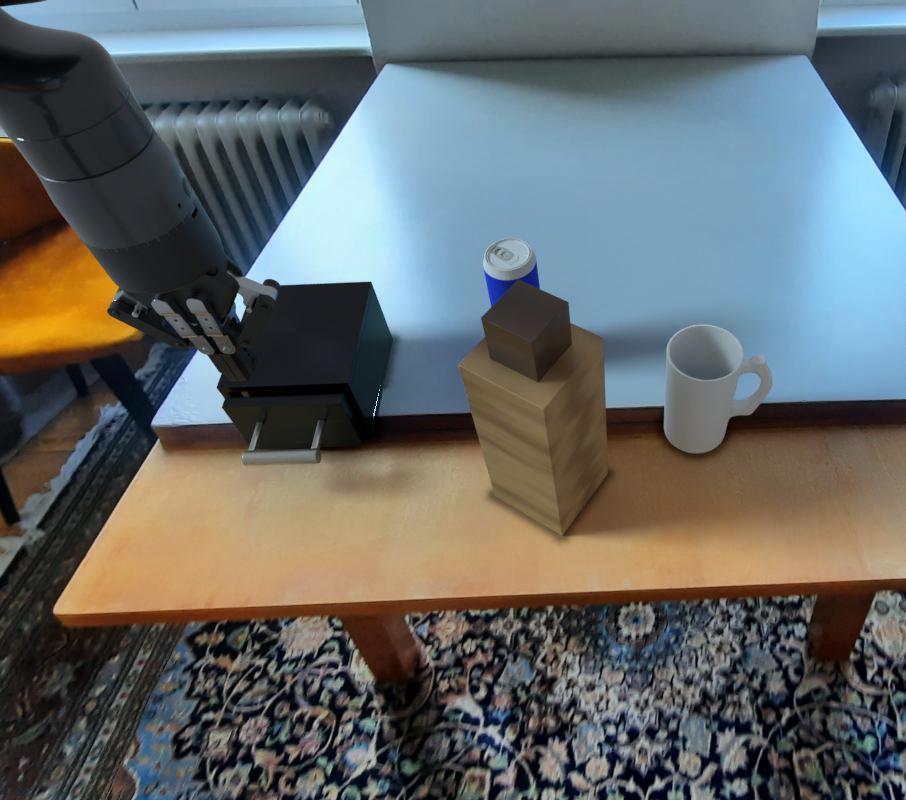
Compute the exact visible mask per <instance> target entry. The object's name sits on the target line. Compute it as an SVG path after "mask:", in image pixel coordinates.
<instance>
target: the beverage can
mask: <svg viewBox="0 0 906 800" xmlns="http://www.w3.org/2000/svg"><path fill="white" fill-rule="evenodd" d="M482 268H483V273H484V278H485V283H486V288H487V293H488V297H489V302H490V308H491V307H492V306H493V305H494V304H495V303H496V302H497V301H498V300H499V299H500V298H501V297H502V296H503V295H504V294H505V293H506V292H507V291H508V290H509V289H510V288H511V287H512V286H513V285H514V283H515V282H516V281H517V280H520V281H523V282H525V283H527V284H529V285H532V286H534V287H536V288H538V289H541V286H540V279H539V277H540V276H539V269H538V262H537V256H536V254H535V252H534V250H533V248H532V246H531V245H530V244H529V243H528V242H527V241H526V240H524V239H521V238H516V237H506V238H501V239H498V240H496V241H494V242H493V243H491V244H490V245H489V246H488V247H487V248H486V250H485V253H484V256H483V260H482Z"/></svg>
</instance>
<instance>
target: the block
mask: <svg viewBox="0 0 906 800" xmlns="http://www.w3.org/2000/svg"><path fill="white" fill-rule="evenodd" d="M480 320H481V325H482V329H483V334H484V337H485V338H486V343H487V347H488V351H489V356H490V359H492V360H494V361H496V362H498V363H500V364H502V365H504V366H506V367H508V368H510V369H512V370H514V371H516V372H518V373H520V374H522V375H524V376H526V377H528V378H530V379H532V380H534V381H536V382H539V381H540V380H541V379H542V378H543V376H544V375H545V374H546V373H547V372H548V371H549V370H550V368H551V367H552V366H553V365H554V364H555V363H556V361H557V360H558V359H559V358H560V357H561V356H562V354H563V353H564V352H565V351H566V350H567V349H568V347H569V346H570V345H571V344H572V337H571V325H570V323H571V315H570V303H569V301H567V300H565V299H563V298H561V297H558V296H556V295H554V294H552V293H550V292H547V291H545V290H543V289H541V288H540V289H538V288H536V287H534V286H532V285H529V284H527V283H525V282H523V281H520V280H517V281H516V282H515V283H514V285H513V286H512V287H511V288H510V289H509V290H508V291H507V292H506V293H505V294H504V295H503V296H502V297H501V298H500V299H499V300H498V301H497V302H496V303H495V304H494V305H493V306H492V307H491V306H490V308H489V309H488V310H487V311H486V312H485V313H484V314H483V315H482V316H481V317H480Z"/></svg>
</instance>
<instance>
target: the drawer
mask: <svg viewBox="0 0 906 800" xmlns="http://www.w3.org/2000/svg"><path fill="white" fill-rule="evenodd" d="M241 394H242V395H243V397H230V398H225V399H224V400H223V402H222V405H221V408H222V410H223V411H224V413H225V414H226V415H227V417H228V418H229V420H230V421H231V423H233V425H234V426H235V428H236V429H237V430H238V432H239V433H240V434H241V436H242V437H243V438H244V439H245V441H246V442H247V444H248V445H249V446H248V450H244V451H243V452H242V454H241V462H242V465H243V466H245V467H253V466H256V467H257V466H283V465H285V466H286V465H316V464H320V463H321V461H322V452H321V448H344V447H345V448H346V447H363V446H364V443H365V438H366V437H365V436H364V434H363V432H362V430H361V428H360V426H359V424H360V423H359V421H358V419H357V417H356V415H355V413H354V411H353V409H352V407H351V405H350V403H349V401H348V399H347V397H346V395H345V393H344V391H343V389H342V388H332V389H304V390H277V391H249V392H241Z"/></svg>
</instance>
